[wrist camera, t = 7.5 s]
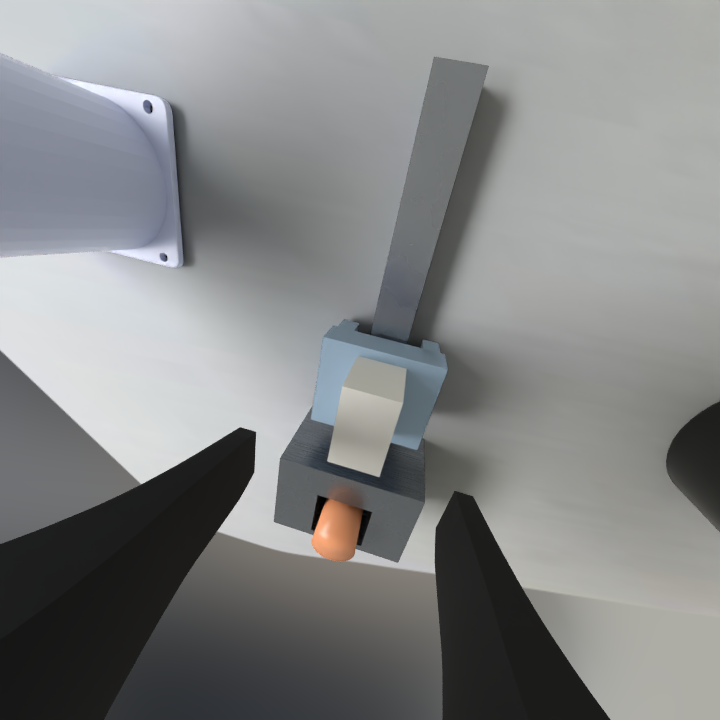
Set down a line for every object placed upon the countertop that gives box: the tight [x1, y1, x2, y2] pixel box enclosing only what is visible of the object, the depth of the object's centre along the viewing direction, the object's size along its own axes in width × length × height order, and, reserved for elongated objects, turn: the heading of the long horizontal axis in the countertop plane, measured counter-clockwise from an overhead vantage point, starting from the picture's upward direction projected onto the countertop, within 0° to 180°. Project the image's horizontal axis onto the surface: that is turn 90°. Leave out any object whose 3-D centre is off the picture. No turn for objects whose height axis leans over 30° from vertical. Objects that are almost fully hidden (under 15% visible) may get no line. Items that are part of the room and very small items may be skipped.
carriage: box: [311, 319, 448, 477], centre depth 14 cm, size 6×5×6 cm
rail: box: [370, 57, 489, 344], centre depth 15 cm, size 2×18×2 cm, turn 169°
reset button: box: [312, 498, 364, 561], centre depth 17 cm, size 2×2×4 cm
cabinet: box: [274, 408, 425, 562], centre depth 19 cm, size 8×6×5 cm
